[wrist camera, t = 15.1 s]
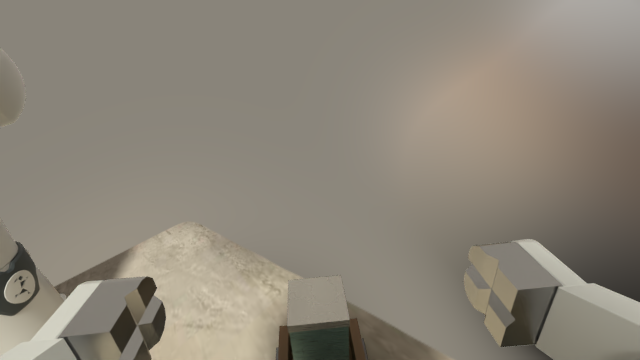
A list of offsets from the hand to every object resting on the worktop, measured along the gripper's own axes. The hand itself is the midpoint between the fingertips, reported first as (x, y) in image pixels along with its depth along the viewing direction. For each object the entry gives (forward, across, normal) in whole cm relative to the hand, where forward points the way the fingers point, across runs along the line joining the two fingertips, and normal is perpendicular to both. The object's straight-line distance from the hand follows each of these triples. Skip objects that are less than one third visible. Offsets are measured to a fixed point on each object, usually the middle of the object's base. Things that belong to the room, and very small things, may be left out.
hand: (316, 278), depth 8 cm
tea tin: (+14, 0, +28) cm, 31 cm away
